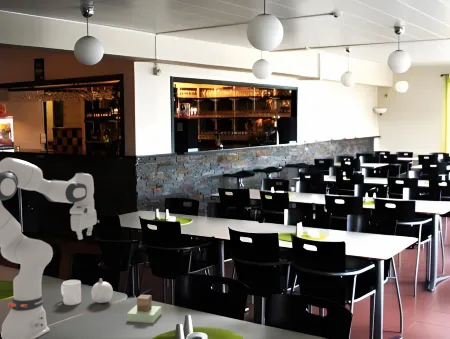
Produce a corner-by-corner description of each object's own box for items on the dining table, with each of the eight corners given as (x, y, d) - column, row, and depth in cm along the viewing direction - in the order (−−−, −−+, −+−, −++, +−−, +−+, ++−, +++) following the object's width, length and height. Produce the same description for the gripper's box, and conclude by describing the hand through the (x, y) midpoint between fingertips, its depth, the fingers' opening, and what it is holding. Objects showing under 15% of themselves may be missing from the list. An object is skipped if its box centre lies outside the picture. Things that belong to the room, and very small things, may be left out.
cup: (71, 306, 264) (70, 285, 263) (54, 301, 271) (54, 281, 270) (84, 301, 271) (84, 281, 270) (68, 297, 277) (67, 277, 277)
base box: (153, 324, 242) (153, 315, 242) (127, 322, 244) (127, 313, 244) (161, 315, 254) (161, 306, 254) (136, 313, 256) (136, 304, 256)
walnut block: (147, 311, 246) (147, 298, 246) (137, 311, 247) (136, 297, 247) (151, 308, 251) (151, 295, 250) (141, 307, 252) (141, 294, 252)
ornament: (91, 306, 263) (91, 282, 262) (91, 300, 273) (90, 276, 272) (113, 305, 266) (113, 280, 265) (112, 298, 276) (111, 275, 275)
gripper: (87, 204, 268) (87, 232, 269) (68, 210, 248) (68, 241, 249) (99, 204, 266) (100, 233, 268) (81, 211, 246) (81, 241, 247)
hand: (84, 237), depth 258 cm, fingers open, 8 cm apart
